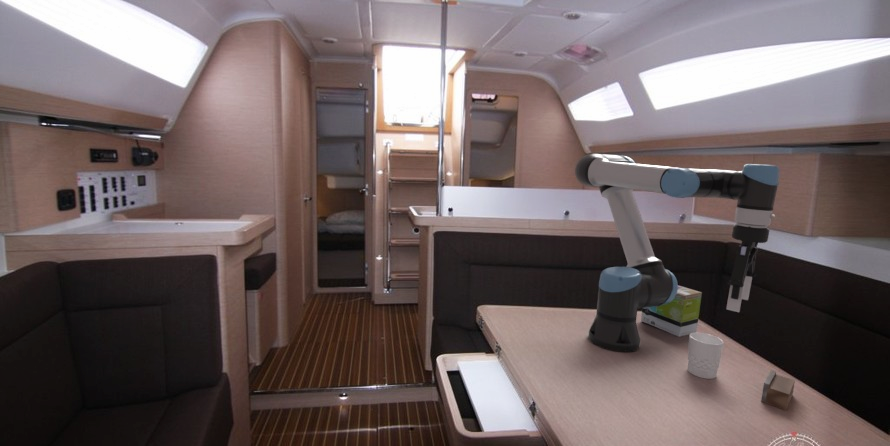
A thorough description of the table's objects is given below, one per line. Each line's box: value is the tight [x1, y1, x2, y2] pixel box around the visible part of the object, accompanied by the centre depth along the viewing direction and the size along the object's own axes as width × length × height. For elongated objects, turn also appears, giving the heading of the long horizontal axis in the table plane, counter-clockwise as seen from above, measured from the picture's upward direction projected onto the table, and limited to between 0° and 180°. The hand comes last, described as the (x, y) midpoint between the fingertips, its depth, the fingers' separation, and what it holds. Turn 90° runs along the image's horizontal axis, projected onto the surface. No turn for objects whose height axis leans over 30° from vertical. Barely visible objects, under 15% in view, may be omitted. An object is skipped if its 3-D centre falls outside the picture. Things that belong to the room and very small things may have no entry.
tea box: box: [640, 285, 703, 338], centre depth 146 cm, size 15×10×15 cm, turn 28°
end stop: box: [760, 369, 796, 411], centre depth 103 cm, size 5×10×5 cm, turn 134°
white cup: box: [687, 332, 725, 380], centre depth 114 cm, size 8×8×10 cm
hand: (737, 304), depth 111 cm, fingers open, 13 cm apart
